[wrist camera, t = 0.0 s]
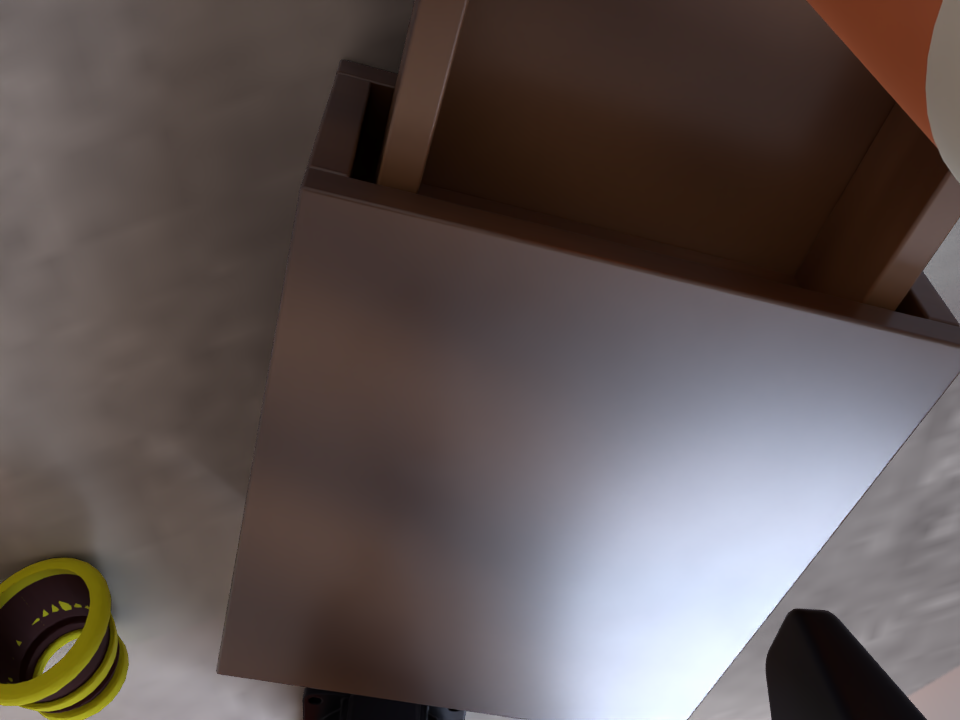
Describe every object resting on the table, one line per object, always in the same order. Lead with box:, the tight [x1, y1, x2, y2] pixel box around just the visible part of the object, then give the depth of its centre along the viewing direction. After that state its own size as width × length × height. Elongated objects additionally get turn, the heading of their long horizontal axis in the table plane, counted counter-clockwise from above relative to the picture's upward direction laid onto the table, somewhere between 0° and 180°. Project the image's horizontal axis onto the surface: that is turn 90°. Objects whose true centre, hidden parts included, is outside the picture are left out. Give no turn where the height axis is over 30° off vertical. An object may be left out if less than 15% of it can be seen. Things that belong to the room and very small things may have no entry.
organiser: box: [216, 60, 960, 720], centre depth 24 cm, size 16×14×6 cm
